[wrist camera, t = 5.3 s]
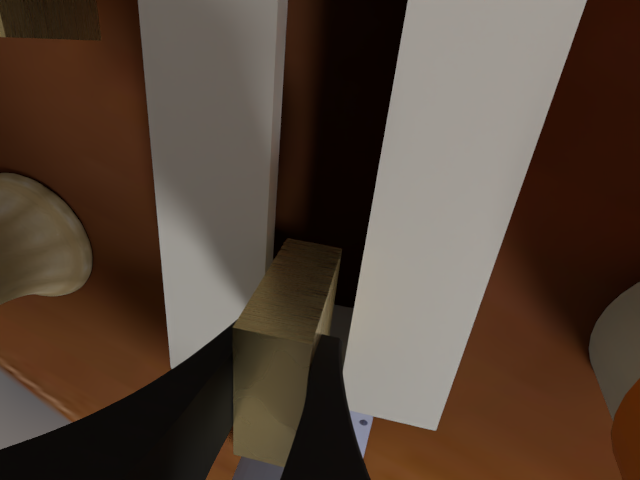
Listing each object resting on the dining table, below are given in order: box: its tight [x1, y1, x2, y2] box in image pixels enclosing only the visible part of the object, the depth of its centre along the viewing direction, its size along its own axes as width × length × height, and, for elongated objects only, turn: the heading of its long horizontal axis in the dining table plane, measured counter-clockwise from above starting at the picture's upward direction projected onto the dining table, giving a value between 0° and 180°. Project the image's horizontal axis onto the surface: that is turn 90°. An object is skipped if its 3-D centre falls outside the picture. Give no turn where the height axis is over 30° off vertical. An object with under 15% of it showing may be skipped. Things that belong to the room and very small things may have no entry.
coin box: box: [138, 0, 587, 431], centre depth 16 cm, size 18×12×6 cm, turn 174°
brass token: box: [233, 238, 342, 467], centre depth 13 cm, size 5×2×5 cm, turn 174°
